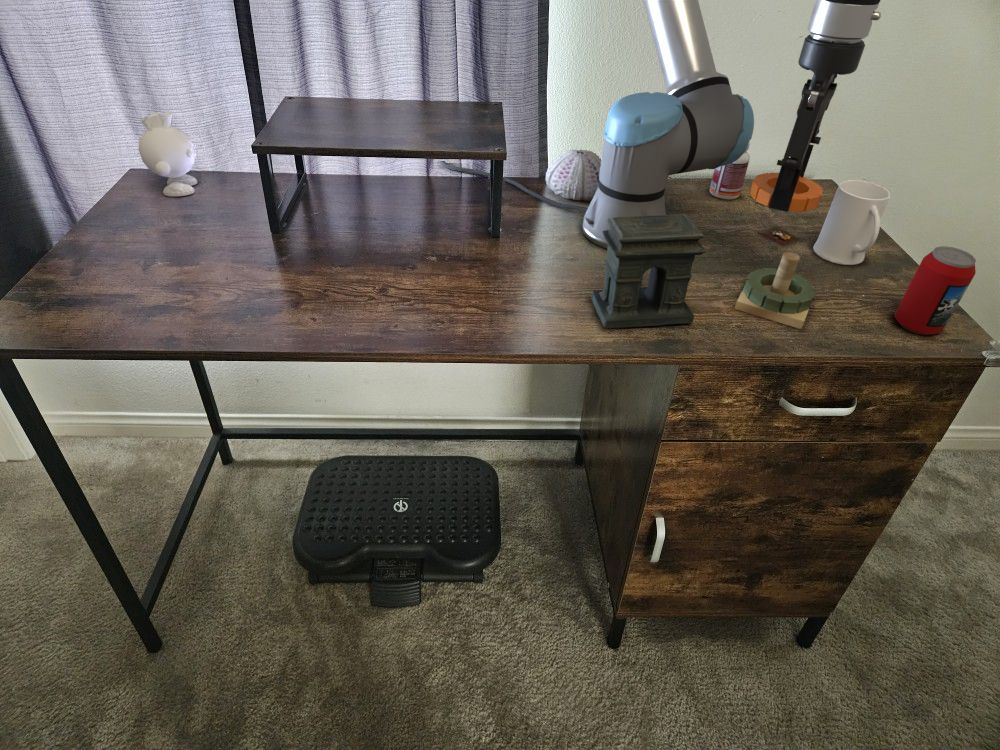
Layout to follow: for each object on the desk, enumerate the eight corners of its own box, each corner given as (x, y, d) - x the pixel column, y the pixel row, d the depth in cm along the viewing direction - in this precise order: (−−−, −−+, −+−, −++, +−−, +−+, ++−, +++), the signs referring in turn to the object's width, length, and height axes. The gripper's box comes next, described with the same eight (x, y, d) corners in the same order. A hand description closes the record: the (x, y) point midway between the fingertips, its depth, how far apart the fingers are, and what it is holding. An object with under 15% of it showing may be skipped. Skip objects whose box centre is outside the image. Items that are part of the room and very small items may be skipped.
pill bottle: (745, 194, 134) (760, 141, 127) (729, 203, 130) (744, 148, 123) (718, 185, 137) (732, 132, 130) (702, 193, 133) (715, 139, 126)
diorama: (782, 243, 118) (785, 232, 116) (765, 234, 120) (769, 223, 119) (792, 239, 119) (796, 228, 118) (776, 230, 121) (780, 220, 120)
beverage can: (939, 343, 95) (981, 272, 87) (889, 328, 98) (925, 258, 90) (942, 322, 100) (982, 252, 92) (895, 307, 102) (930, 239, 94)
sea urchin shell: (609, 180, 137) (614, 142, 132) (609, 207, 127) (616, 168, 122) (546, 175, 138) (549, 137, 133) (542, 202, 128) (545, 162, 122)
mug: (879, 276, 110) (910, 210, 102) (829, 274, 110) (856, 208, 102) (852, 242, 119) (879, 180, 111) (806, 240, 119) (829, 177, 111)
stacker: (734, 309, 100) (749, 260, 95) (749, 280, 107) (765, 234, 102) (801, 329, 97) (820, 280, 91) (812, 298, 103) (831, 251, 98)
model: (671, 293, 103) (692, 205, 94) (693, 326, 96) (718, 234, 87) (588, 298, 101) (600, 209, 92) (604, 332, 94) (620, 239, 85)
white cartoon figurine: (200, 206, 121) (178, 125, 112) (145, 209, 119) (118, 128, 110) (209, 174, 132) (190, 98, 123) (159, 176, 131) (135, 100, 121)
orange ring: (743, 201, 98) (747, 189, 97) (757, 179, 105) (761, 167, 104) (812, 217, 95) (817, 204, 93) (822, 193, 102) (827, 181, 100)
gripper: (857, 58, 77) (797, 230, 91) (874, 26, 92) (821, 177, 106) (791, 49, 79) (743, 217, 93) (819, 19, 95) (774, 168, 109)
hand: (784, 196), depth 100 cm, fingers closed on orange ring, 10 cm apart
